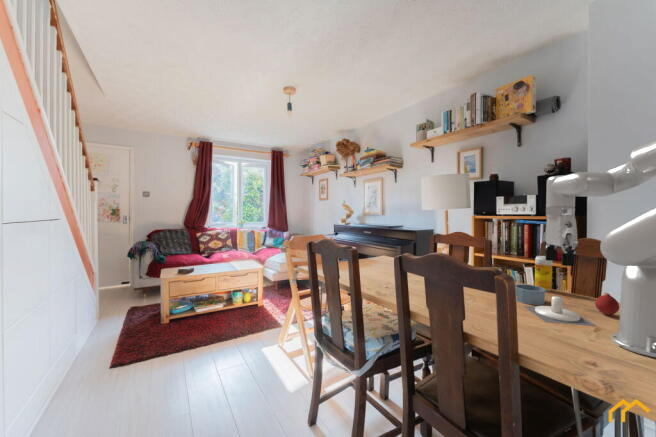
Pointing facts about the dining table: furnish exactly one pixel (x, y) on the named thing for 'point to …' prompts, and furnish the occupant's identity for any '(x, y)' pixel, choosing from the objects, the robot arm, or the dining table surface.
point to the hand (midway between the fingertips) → (558, 262)
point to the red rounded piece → (607, 304)
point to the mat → (581, 322)
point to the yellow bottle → (543, 273)
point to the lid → (557, 311)
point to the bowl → (530, 294)
